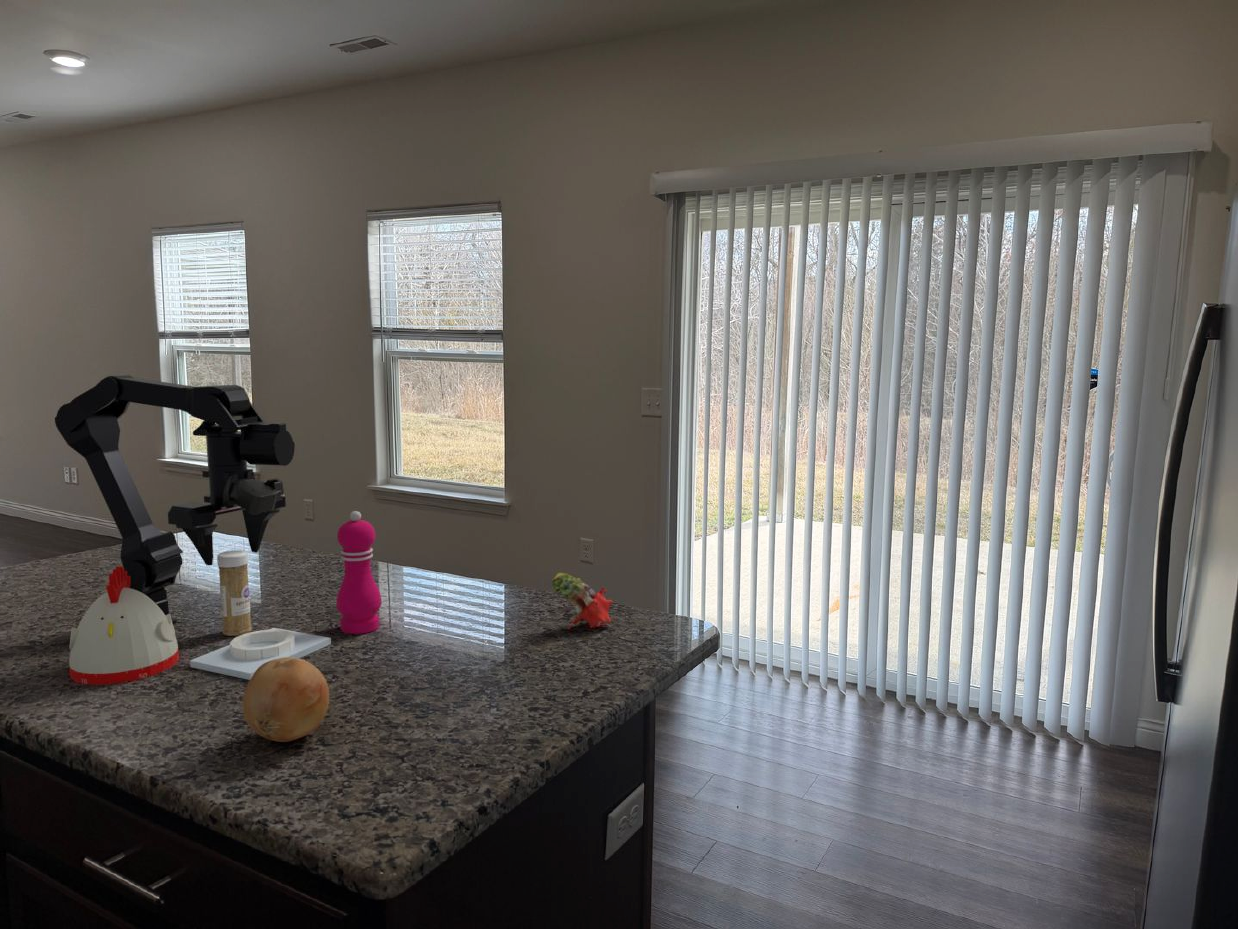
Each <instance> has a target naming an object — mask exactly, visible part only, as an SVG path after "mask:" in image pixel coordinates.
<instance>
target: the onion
mask: <svg viewBox="0 0 1238 929" xmlns="http://www.w3.org/2000/svg"><path fill="white" fill-rule="evenodd" d="M247 683H248V684H247V685H246V687H245V690H244V693H243V697H242V709H243V710H242V711H243V717H244V719H245V721H246V723H247V726H248V727H249V728H250V729H251V730H252V731H253V732H254V733H255V734H257V735H259V736H260V737H261V738H264V739H265V740H269V741H274V742H277V743H278V742H279V743H287V742H288V743H289V742H292V741H296V740H298V739H300V738H303V737H305V736H307V735H309V734H311V733H312V732H314V731H315V730H316V729H317V728H318V727H319V725H320V724H321V723H322V721H323V719H324V718H325V716H326V714H327V712H328V708H329V704H330V690H329V685H328V682H327V679H326V678H325V676H324V675H323V673H322V672H321V671H320V670H319V669H318V668H317V667H316V666H315V665H313V664H312V663H311V662H309V661H307V660H304V659H302V658H293V657H283V658H278V659H274V660H271V661H268V662H266V663H264V664H262V665H261V666H260V667H259V668H258V669H257V670H256V671H255V673H254V674H253V676H252V678H251V679H250V680H248V682H247Z"/></svg>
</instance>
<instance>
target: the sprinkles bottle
mask: <svg viewBox="0 0 1238 929" xmlns="http://www.w3.org/2000/svg"><path fill="white" fill-rule="evenodd" d="M216 556H217V557H216V559H217V560H216V561H217V567H218V570H219V571H218V572H219V596H220V610H221V619H222V620H221V621H222V632H221V633H222V634H223V635H224V636H228V637H229V636H231V637H238V636H241V635H243V634H246V633H250V632H251V631H253V627H252V621H251V618H252V617H251V597H250V587H249V572H248V570H249V569H248V564H249V555H248V552H247V551H245V550H229V551H228V550H227V551H223V552H219V553H218V554H217V555H216Z"/></svg>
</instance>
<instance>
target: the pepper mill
mask: <svg viewBox="0 0 1238 929" xmlns="http://www.w3.org/2000/svg"><path fill="white" fill-rule="evenodd" d="M361 518H362V514H361V512H360V511H357V510H353V511H352V512H351V513H350V514H349V519H350V520H348V521H346V522H344V523H342V524H341V525H340V526H339V528H338V531H337V534H336V535H337V537H336V538H337V543H338V545H339V546H340V547H341V548H342V550H340V552H341V560H343V561H344V562H343V563H344V573H343V574H344V576H343V580H342V582H341V585H340V588H339V590H338V592H337V597H336V609H337V611H338V613H340V615H341V616H342V617H341V618H340V620H339V622H340V624H339V626H340V630H341V632H343V633H344V634H349V635H358V634H359V635H360V634H362V635H363V634H368V633H370V632H371V633H372V632H374V631H376V630H377V629H379V627H380V616H379V615H378V614H377V612H379V610H380V609H381V607H382V604H383V603H382V595H381V591H380V589H379V587H378V585H377V582H376V580H375V579H374V577H373V572H372V567H371V560H372V558H373V556H374V554H373V551H374V548H372V547H371V546H372V545H373V544H374V543H375V540H376V532H375V531H376V530H375V528H374V527H373V525H372V523H370V522H368V521H366V520H362V519H361Z"/></svg>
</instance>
